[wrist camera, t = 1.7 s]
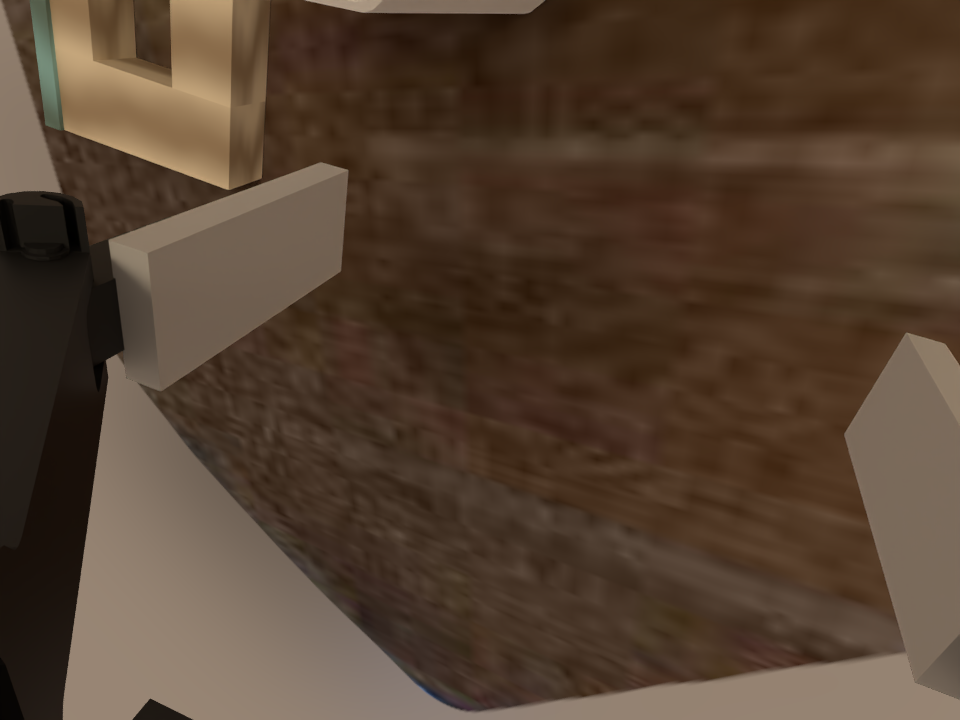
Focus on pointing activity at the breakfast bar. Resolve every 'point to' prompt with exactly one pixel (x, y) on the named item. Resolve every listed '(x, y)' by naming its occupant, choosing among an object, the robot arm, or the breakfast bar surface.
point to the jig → (160, 83)
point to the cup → (436, 6)
